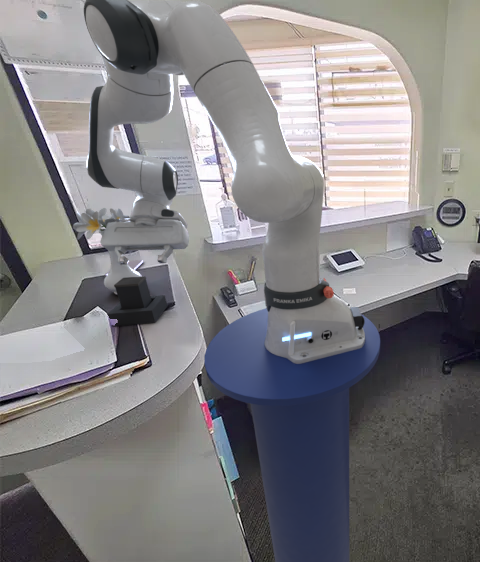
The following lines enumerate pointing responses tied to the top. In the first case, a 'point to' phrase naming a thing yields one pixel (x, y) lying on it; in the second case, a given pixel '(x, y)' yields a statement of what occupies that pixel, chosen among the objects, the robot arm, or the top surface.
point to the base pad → (139, 312)
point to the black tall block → (133, 293)
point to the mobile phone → (132, 264)
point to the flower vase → (92, 223)
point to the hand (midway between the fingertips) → (142, 263)
